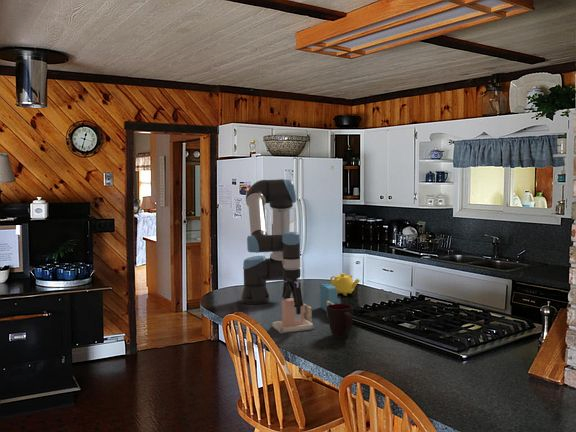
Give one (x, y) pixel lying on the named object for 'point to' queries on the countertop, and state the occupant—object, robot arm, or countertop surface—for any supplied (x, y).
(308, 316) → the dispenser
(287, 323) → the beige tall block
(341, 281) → the teapot
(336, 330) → the cup
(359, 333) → the countertop surface
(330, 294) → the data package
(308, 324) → the tray
